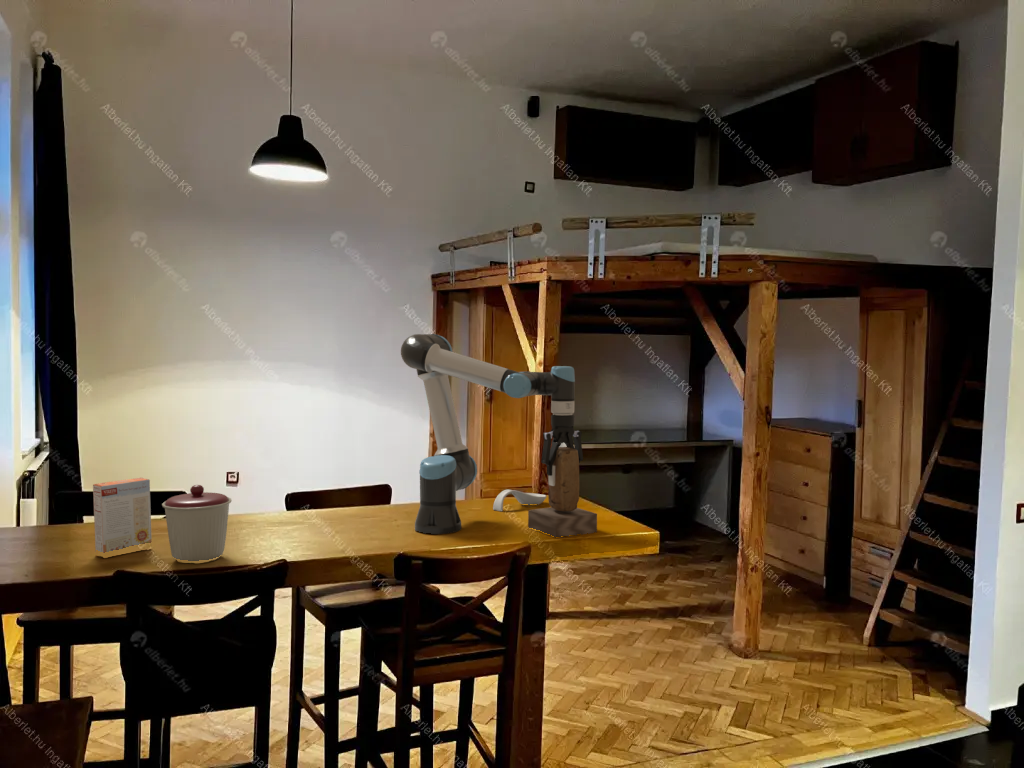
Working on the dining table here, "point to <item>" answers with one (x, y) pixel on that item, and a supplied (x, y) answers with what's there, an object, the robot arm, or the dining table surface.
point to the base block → (562, 521)
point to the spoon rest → (518, 498)
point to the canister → (197, 524)
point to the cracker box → (122, 514)
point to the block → (565, 480)
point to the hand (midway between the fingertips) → (562, 484)
